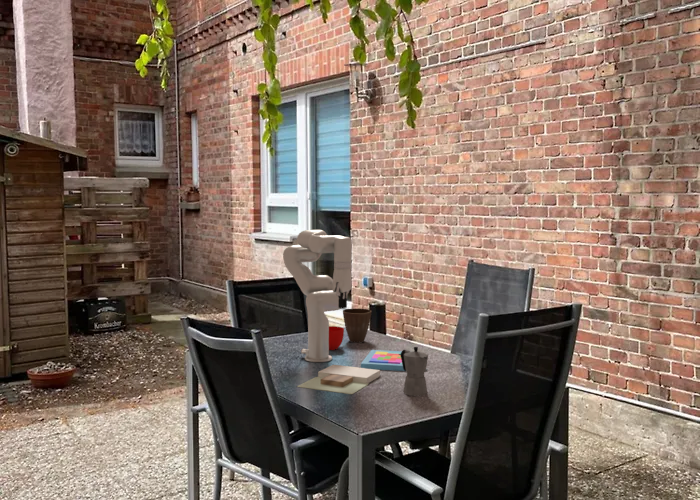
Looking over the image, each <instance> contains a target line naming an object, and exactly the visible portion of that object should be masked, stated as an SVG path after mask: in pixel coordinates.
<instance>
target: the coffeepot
mask: <svg viewBox="0 0 700 500" xmlns="http://www.w3.org/2000/svg"><path fill="white" fill-rule="evenodd" d="M418 350H419V347H418V346H414V347H413V351H410V350H407V349H402V350H401V351H402V352H401V360H402V365H403V369H404V370H405V371H404V372H406V376H405V381H404V384H403V390H402V391H403V394H405V396H410V397H423V395H424V396H426V395H427V394H428V388H427V381H426V376H425V373H426V370H427V364H428V360H429V354H427V353H426V352H421V351H418Z"/></svg>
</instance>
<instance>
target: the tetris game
mask: <svg viewBox="0 0 700 500" xmlns="http://www.w3.org/2000/svg"><path fill="white" fill-rule="evenodd" d="M402 351H403V350H386V349H385V350H384V349H371V350H370V351H369V352H368V353H367V355H366V357H365V358H364V359H363V360H362V361H361V363H360V368H366V369H375V370H380V371H393V372H395V371H399V372H406V371H405V370H404V369H403V365H402V360H401V352H402Z"/></svg>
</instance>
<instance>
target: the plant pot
mask: <svg viewBox="0 0 700 500" xmlns="http://www.w3.org/2000/svg"><path fill="white" fill-rule="evenodd" d="M342 317H343V322H344V327H345V331H346V334H347V337H348V340H349V342H351V343H363V342H365V340H366V337H367V333H368V331H369V326H370V323H371V317H372V310H371V309H367V308H344V309H343V310H342Z"/></svg>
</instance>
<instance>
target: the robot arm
mask: <svg viewBox="0 0 700 500" xmlns="http://www.w3.org/2000/svg"><path fill="white" fill-rule="evenodd" d="M296 242H297V244H295V245H289V246H287V247H285V249H284V250H283V254H282V258H283V259H282V260H283V262H284V266H285V268H286V270H287V271H288V272H289V274H290V275H291V276H292V277H293V279H294V280H295V282H296V284H297V286H298V287H299V288H300V289H299V290H300V291H301V292H302V294H304V295H305V296H306V298H305V306H306V309H307V310H306V311H307V328H308V329H307V330H308V331H307V338H308V339H307V340H308V341H307V342H308V343H307V345H308V346H307V349H306V348H302V349H301V351H300V353H301V354H304V355H305V356H304V360H305V361H307V362H311V363H326V362H330V361H332V360H333V356H332V355H330V350H329V326H330V321H329V318H328V317H327V315H326V313H325V312H334V311H339V310H340V309H348V308H347V305H348V303H347V302H348V294H349V293H350V291H351V290H352V260H353V258H352V256H353V255H352V254H353V252H352V245H353V243H352V242H353V240H352V238H351V237H349V236H343V235H328V233H326V231H324V230H322V229H311V230H310V229H307V230H302V231H300V232H299V233H298V234H297V237H296ZM323 254H333V257H334V258H333V263H334V264H333V269H334V270H333V275H332V277H331V276H329V275H328V274H324V275H323V274H321V275H318V274H317V275H315V274H314V273H313V272H312V271H311V269H310V268H309V266H307V265H306V264H303V263H314V262H316V261H318V260H319V259H320V257H321V255H323Z"/></svg>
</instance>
